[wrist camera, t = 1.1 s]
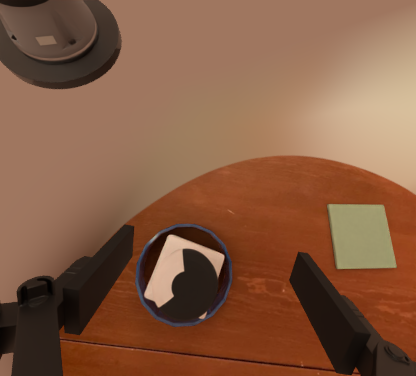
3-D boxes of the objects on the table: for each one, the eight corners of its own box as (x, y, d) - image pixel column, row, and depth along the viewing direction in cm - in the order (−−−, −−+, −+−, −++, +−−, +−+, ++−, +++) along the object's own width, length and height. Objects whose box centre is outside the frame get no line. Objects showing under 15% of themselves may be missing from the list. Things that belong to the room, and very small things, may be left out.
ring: (144, 225, 32) (139, 223, 29) (226, 225, 34) (230, 224, 30) (138, 317, 29) (131, 328, 26) (228, 314, 31) (233, 324, 27)
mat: (326, 204, 37) (328, 204, 36) (381, 205, 38) (383, 204, 37) (335, 268, 34) (338, 269, 33) (394, 267, 35) (397, 267, 35)
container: (217, 251, 33) (235, 260, 20) (200, 300, 31) (209, 345, 18) (172, 234, 33) (164, 233, 20) (153, 282, 31) (129, 315, 18)
